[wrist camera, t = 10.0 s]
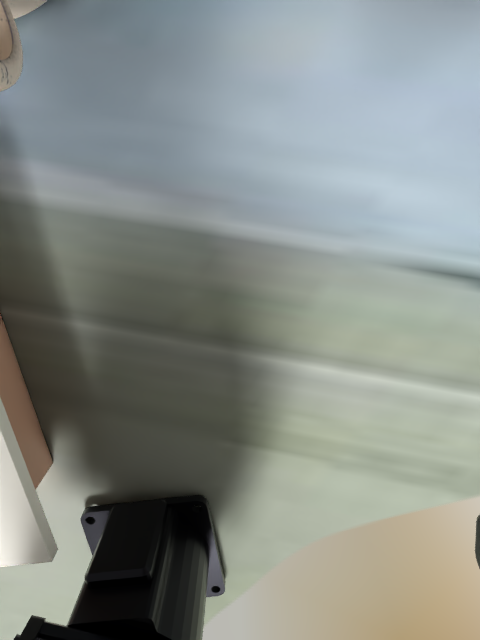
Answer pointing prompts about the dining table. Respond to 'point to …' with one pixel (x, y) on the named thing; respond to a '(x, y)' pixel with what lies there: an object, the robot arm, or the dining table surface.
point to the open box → (22, 412)
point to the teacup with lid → (12, 39)
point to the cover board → (20, 507)
